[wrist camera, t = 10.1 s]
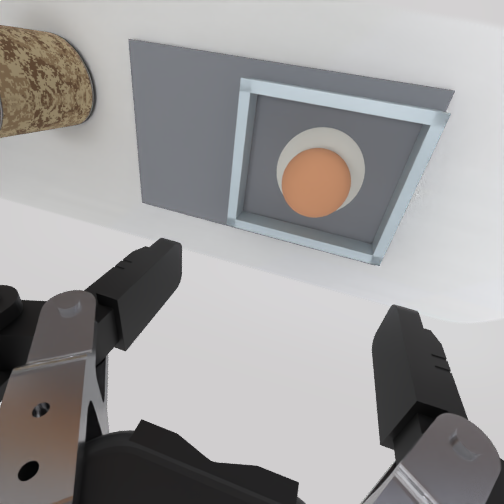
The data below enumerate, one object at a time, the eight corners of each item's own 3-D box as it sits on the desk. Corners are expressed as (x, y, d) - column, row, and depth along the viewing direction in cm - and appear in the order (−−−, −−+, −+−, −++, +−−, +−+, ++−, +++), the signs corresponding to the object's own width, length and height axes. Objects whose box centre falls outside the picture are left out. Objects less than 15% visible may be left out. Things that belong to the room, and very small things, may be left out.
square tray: (234, 216, 28) (226, 224, 26) (249, 77, 21) (240, 77, 20) (377, 253, 25) (379, 265, 24) (442, 110, 19) (451, 113, 17)
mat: (145, 200, 31) (142, 202, 30) (133, 39, 23) (128, 38, 23) (374, 261, 27) (374, 265, 26) (452, 90, 19) (455, 90, 18)
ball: (295, 135, 22) (282, 149, 18) (360, 149, 21) (362, 166, 17) (282, 195, 25) (269, 219, 21) (340, 209, 24) (337, 236, 20)
